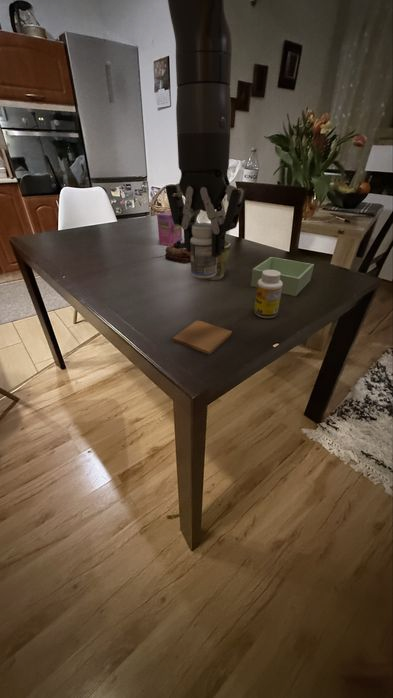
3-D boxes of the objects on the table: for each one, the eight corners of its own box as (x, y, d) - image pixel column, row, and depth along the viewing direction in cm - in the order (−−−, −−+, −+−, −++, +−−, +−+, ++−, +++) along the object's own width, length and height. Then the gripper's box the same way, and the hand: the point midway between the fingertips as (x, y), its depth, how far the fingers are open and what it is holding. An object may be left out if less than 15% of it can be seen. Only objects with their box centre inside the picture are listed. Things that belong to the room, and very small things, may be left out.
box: (171, 246, 116) (168, 214, 110) (159, 244, 118) (156, 214, 112) (182, 240, 124) (181, 210, 117) (171, 238, 126) (169, 209, 119)
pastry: (186, 264, 97) (185, 247, 94) (161, 258, 103) (159, 242, 100) (205, 256, 104) (205, 240, 101) (180, 251, 110) (179, 235, 107)
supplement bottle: (251, 308, 70) (256, 268, 64) (274, 308, 70) (280, 267, 64) (256, 319, 65) (261, 277, 60) (280, 319, 66) (287, 276, 60)
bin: (310, 280, 84) (314, 264, 81) (295, 296, 75) (299, 278, 72) (268, 272, 90) (270, 256, 87) (250, 286, 82) (252, 269, 79)
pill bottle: (193, 269, 54) (191, 222, 49) (217, 270, 53) (219, 222, 48) (189, 278, 50) (187, 228, 45) (215, 279, 49) (216, 228, 45)
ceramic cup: (232, 280, 85) (235, 246, 79) (200, 283, 83) (200, 249, 78) (220, 266, 95) (222, 235, 90) (192, 269, 94) (191, 237, 88)
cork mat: (231, 334, 61) (232, 331, 60) (209, 355, 55) (209, 351, 54) (197, 322, 65) (197, 319, 64) (173, 340, 59) (172, 337, 58)
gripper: (261, 129, 39) (250, 254, 49) (179, 133, 46) (184, 242, 55) (236, 127, 34) (228, 267, 44) (147, 132, 41) (158, 252, 50)
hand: (203, 252), depth 49 cm, fingers closed on pill bottle, 4 cm apart
